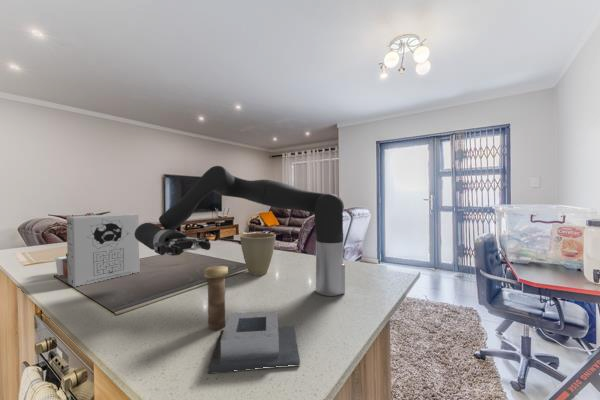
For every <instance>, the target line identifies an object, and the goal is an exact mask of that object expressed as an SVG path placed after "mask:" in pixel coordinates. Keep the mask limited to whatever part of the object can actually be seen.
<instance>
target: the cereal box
mask: <svg viewBox="0 0 600 400" xmlns="http://www.w3.org/2000/svg"><path fill="white" fill-rule="evenodd" d="M139 217H140V216H139V214H138V213H133V212H132V213H131V212H130V213H114V214H113V213H111V214H96V215H94V214H91V215H75V216H67V217H66V243H67V244H66V245H67V246H66V247H67V248H66V249H67V252H66V253H67V257H68V278H67V283H69V285H71V286H72V287H73V288H77V287H76V286H79V287H81V286H80V285H83V286H86V285H85V284H87V285H91V284H90V283H92V284H95V283H94V282H96V283H99V282H98V281H101V282H104V281H103V280H105V281H108V280H107V279H109V280H112V279H111V278H114V279H117V278H116V277H118V278H121V277H120V276H123V277H125V276H124V275H127V276H130V275H129V274H131V275H133V274H132V273H136V274H138V273H137V272H139V273H140V272H141V271H140V242H139V241H138V240H137V239H136V238H135V230H136V229H137V228H138V227H139V226H140V219H139Z"/></svg>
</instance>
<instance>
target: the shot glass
mask: <svg viewBox="0 0 600 400" xmlns="http://www.w3.org/2000/svg"><path fill="white" fill-rule="evenodd" d="M65 258H67V257H66V255H63V256H59V257H56V258H55V266H56V267H55V268H56V274H57V276H60V275H63V261H62V259H65Z"/></svg>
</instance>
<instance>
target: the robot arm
mask: <svg viewBox="0 0 600 400" xmlns="http://www.w3.org/2000/svg"><path fill="white" fill-rule="evenodd" d="M212 192H214V194H217V195H218V196H222V197H231V198H238V199H244V200H247V201H249V202H254V203H256V204H260V205H265V206H267V207H271V208H276V209H280V210H281V209H282V210H295V211H301V212H302V211H303V212H307V213H311V214H313V215H314V233H315V292H316V293H317V294H318V295H321V296H326V297H336V296H339V295H343V294H346V265H345V264H344V227H343V226H344V225H343V224H344V222H343V221H344V217H343V215H344V209H345V208H344V207H345V205H344V202H343V200H342V198H341V197H340V196H339V195H337V194H334V193H325V192H323V193H322V192H317V191H316V192H315V191H309V190H305V189H302V188H299V187H296V186H294V185H290V184H287V183H284V182H280V181H276V180H272V179H271V180H270V179H255V180H249V179H248V180H247V179H243V178H240V177H237V176H234V175H232V174H231V173H230V172H229V171H228V170H227V169H226V168H225V167H223V166H222V165H214V166H212V167H210V168H208V170H206V171H205V172H204V174H203V175H201V176H200V178H199V179H198V180H197V181H196V182H195V183H194V185H192V186H191V188H190V189H188V191H187V192H186V193H185V194H184V195H183V196H182V197H181V198H180V199H179V200H178V201H177V202H176V203H175V204H173V205H172V206H171V207H170V208H168V209H167V210H166V211H165V212H163V213H162V214H161V215H160V216H159V218H158V222H159V223H160V225H161V226H162V227H160V226H158V225H156V224H155V223H152V222H144V223H142V224H139V227H138V228H137V229H136V230H135V238H136V239H137V240H138V241H139V243H141V244H142V245H144V246H146V247H147V248H149V249H150V250H153V251H154V252H155V253H156V254H158V255H160V256H164V255H169V256H181V254H183V253H184V252H187V251H197V250H198V249H201V250H205V251H210V249H211V242H210V239H209V238H206V237H200V236H198V237H188V236H187V235H186V233H184V232H182V231H178V230H176V229H178V228H179V227H180V226H182V225H183V224H184V223H185V222H186V221H187V220H188V219H189V218H190V217H191V216H192V215H193V214H194V212H195V211H196V209H197V207H198V205H199V203H201V201H202V200H203V199H204V198H205V197H206V196H208V195H209V194H210V193H212Z"/></svg>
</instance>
